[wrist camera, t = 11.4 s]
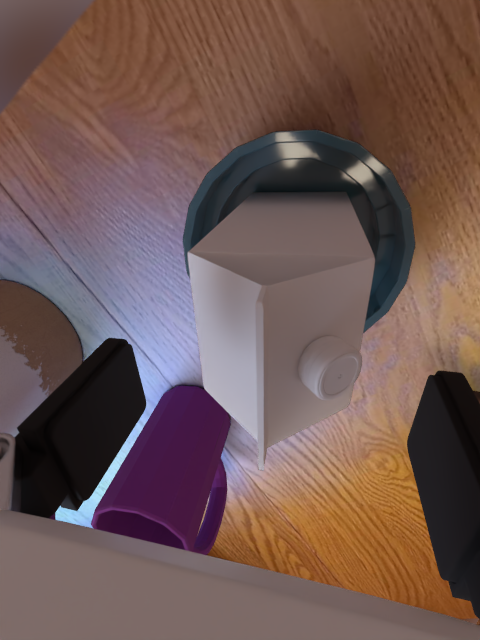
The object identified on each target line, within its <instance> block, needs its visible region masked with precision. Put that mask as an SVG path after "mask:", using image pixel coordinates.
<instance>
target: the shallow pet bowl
mask: <svg viewBox="0 0 480 640" xmlns="http://www.w3.org/2000/svg"><path fill="white" fill-rule="evenodd" d="M254 192H346V193H347V195H348V197H349V199H350V202H351V204H352V206H353V208H354V211H355V213H356V215H357V217H358V220H359V222H360V224H361V226H362V229H363V231H364V233H365V235H366V238H367V240H368V242H369V244H370V247H371V249H372V251H373V254H374V258H375V265H374V273H373V279H372V285H371V291H370V297H369V302H368V308H367V314H366V319H365V325H364V331H363V333H364V332H365V331H366V330H368V329H369V328H370V327H371V326H372V325H373V324H375V323H376V322H377V321H378V320H379V319H380V318H382V317H383V316H384V315H385V314H386V313H387V312H388V311H389V310H390V308H391V306H392V305H393V303H394V302H395V300H396V298H397V297H398V295H399V294H400V292H401V290H402V289H403V287H404V286H405V284H406V281H407V279H408V275H409V271H410V266H411V262H412V258H413V254H414V250H415V237H414V229H413V221H412V212H411V207H410V204H409V202H408V200H407V199H406V197H405V195H404V193H403V191H402V189H401V187H400V186H399V184H398V182H397V180H396V178H395V176H394V174H393V173H392V171H391V170H390V169H389V168H388V167H387V166H385V165H384V164H383V163H382V162H381V161H379V160H378V159H377V158H376V157H375V156H373V155H372V154H371V153H370V152H369V151H367V150H366V149H365V148H364V147H363V146H361V145H360V144H358V143H357V142H354V141H351V140H348V139H345V138H342V137H339V136H336V135H333V134H330V133H327V132H324V131H321V130H294V131H275V132H271V133H269V134H267V135H264V136H262V137H260V138H257V139H255V140H252V141H250V142H248V143H245V144H243V145H240V146H238V147H236V148H235V149H233V150H232V151H231V152H230V153H229V154H228V155H227V156H226V157H225V158H224V159H222V160H221V161H220V162H219V163H218V164H217V165H216V166H215V167H214V168H213V169H211V170H210V171H209V172H208V173H207V175H206V176H205V178H204V179H203V181H202V183H201V185H200V187H199V189H198V190H197V192H196V194H195V196H194V198H193V199H192V201H191V203H190V205H189V208H188V213H187V219H186V224H185V229H184V235H183V247H184V255H185V263H186V271H187V274H188V276H189V278H190V273H189V264H188V251H190V250H191V249H192V248H193V247H194V246H195V245H196V244H197V243H199V242H200V241H201V240H202V239H203V238H204V237H205V236H206V235H207V234H208V233H209V232H211V231H212V230H213V229H214V228H215V227H216V226H217V225H218V224H219V223H220V222H221V221H223V220H224V219H225V218H226V217H227V216H228V215H229V214H230V213H231V212H232V211H233V210H235V209H236V208H237V207H238V206H239V205H240V204H241V203H242V202H243V201H244V200H245V199H246V198H248V197H249V196H250V195H251V194H252V193H254Z"/></svg>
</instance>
